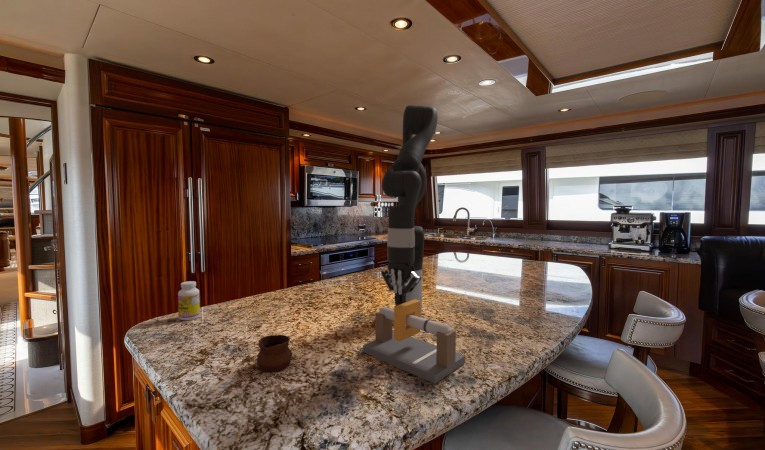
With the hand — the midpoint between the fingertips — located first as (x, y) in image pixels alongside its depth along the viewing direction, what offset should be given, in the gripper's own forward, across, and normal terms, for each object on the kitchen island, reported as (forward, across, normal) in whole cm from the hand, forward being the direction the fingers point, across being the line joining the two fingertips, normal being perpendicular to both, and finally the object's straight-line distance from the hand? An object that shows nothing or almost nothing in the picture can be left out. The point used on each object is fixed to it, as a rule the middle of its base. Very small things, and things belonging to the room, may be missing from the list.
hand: (400, 306), depth 92 cm
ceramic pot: (+14, -19, -28) cm, 36 cm away
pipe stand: (+13, +4, 0) cm, 14 cm away
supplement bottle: (+13, -72, -31) cm, 80 cm away
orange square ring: (+8, +3, 0) cm, 8 cm away
